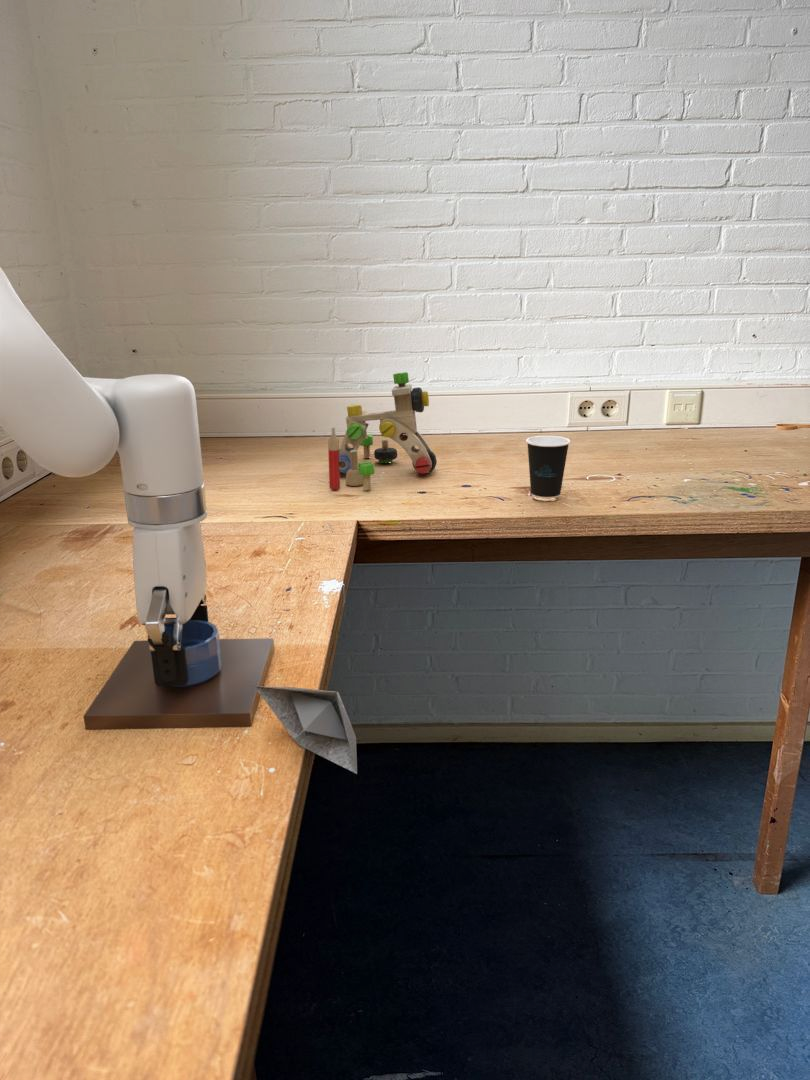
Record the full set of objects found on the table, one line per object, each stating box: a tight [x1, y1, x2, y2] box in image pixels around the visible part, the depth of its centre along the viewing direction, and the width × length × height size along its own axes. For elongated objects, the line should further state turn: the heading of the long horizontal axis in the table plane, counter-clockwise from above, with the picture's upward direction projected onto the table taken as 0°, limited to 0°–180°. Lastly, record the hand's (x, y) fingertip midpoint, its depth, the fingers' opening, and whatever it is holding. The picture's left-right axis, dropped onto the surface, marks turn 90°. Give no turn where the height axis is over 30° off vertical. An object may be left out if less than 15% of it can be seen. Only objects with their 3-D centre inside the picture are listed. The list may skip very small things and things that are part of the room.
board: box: [83, 637, 275, 730], centre depth 84 cm, size 16×16×2 cm
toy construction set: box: [327, 371, 438, 491], centre depth 161 cm, size 27×22×21 cm
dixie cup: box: [525, 435, 571, 499], centre depth 146 cm, size 8×8×11 cm
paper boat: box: [254, 686, 358, 775], centre depth 72 cm, size 12×6×9 cm
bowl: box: [151, 620, 222, 687], centre depth 83 cm, size 7×7×5 cm
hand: (184, 660), depth 84 cm, fingers open, 9 cm apart
